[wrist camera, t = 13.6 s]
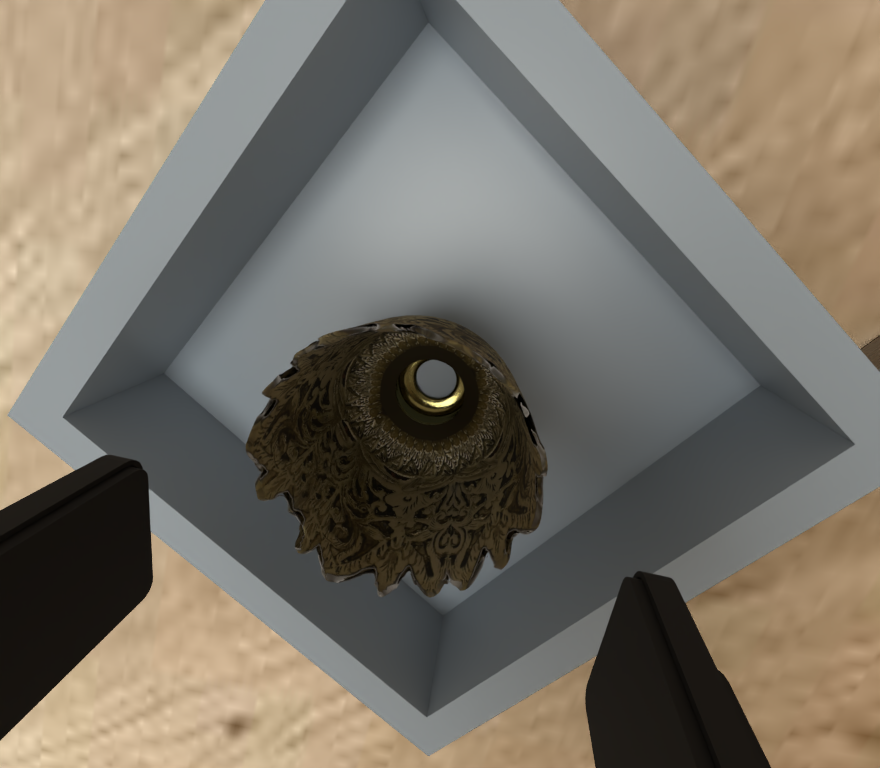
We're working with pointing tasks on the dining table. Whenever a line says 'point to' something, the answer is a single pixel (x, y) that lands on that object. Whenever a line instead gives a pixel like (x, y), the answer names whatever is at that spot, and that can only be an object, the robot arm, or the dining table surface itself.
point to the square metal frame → (873, 352)
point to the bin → (473, 306)
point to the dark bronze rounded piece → (400, 455)
